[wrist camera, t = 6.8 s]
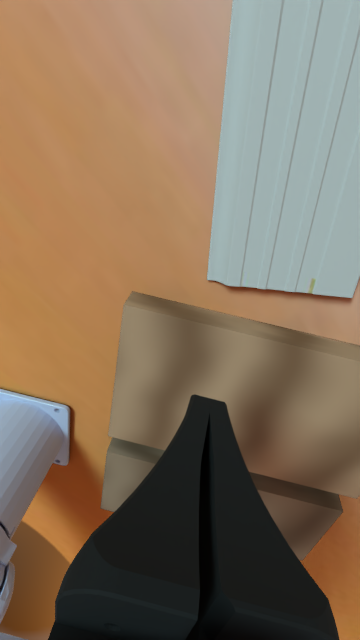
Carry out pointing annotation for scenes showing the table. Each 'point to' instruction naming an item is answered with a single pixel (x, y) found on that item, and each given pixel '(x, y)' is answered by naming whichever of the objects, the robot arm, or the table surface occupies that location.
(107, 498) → the floor panel
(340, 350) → the plank
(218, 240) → the baseboard
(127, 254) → the table surface
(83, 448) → the table surface
